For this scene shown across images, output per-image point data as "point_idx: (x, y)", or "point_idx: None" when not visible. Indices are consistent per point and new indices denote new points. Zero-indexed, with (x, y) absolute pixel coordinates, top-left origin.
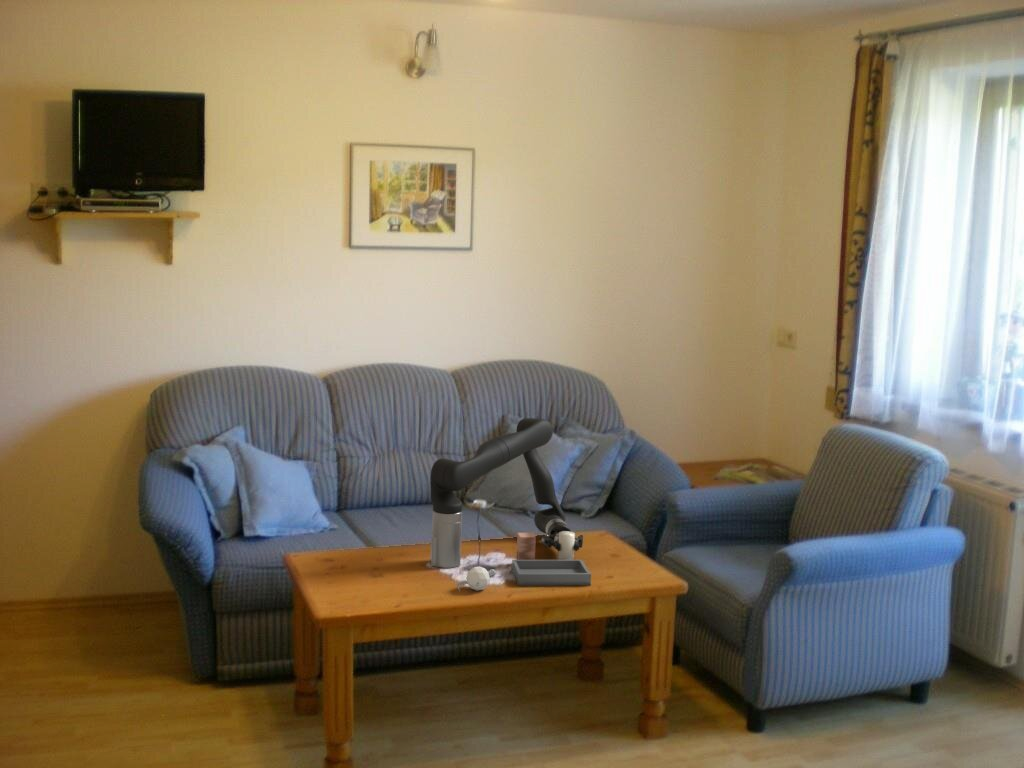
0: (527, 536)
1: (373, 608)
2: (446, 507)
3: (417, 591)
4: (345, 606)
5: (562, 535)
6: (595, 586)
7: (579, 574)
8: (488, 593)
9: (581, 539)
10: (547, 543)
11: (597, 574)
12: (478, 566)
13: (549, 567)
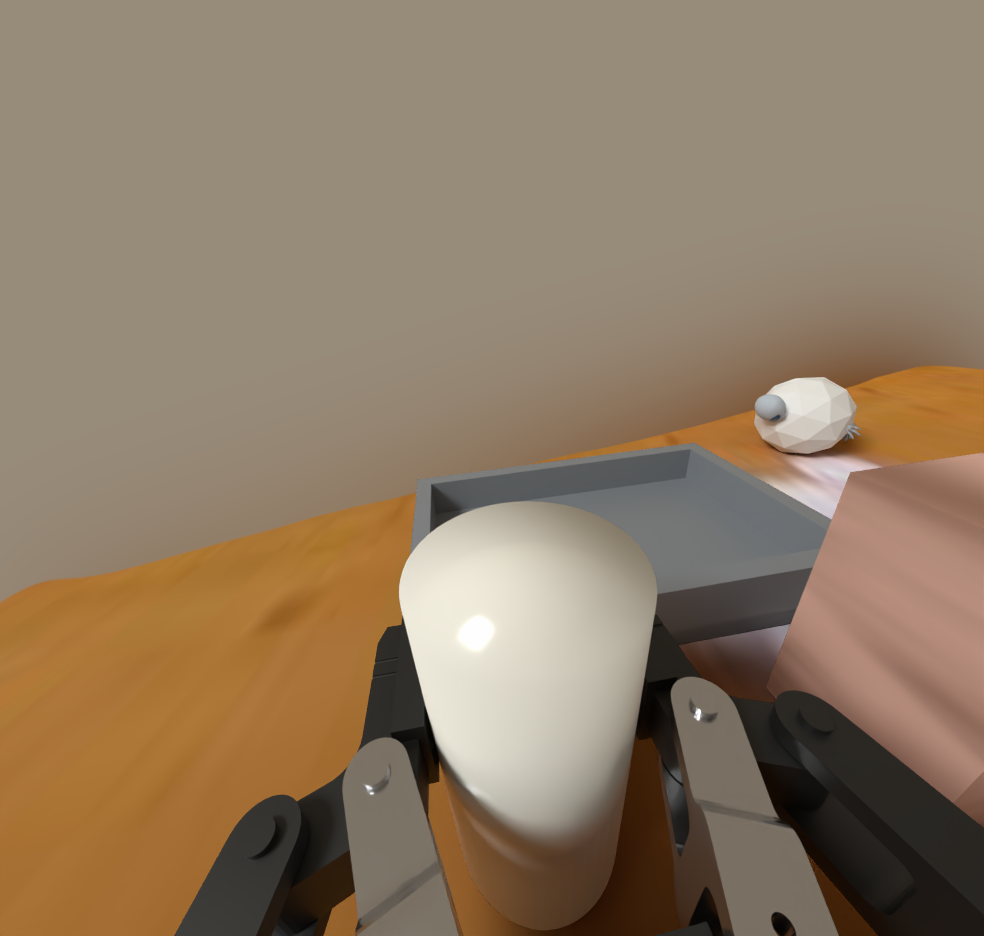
0: (960, 472)
1: (896, 381)
2: None
3: (936, 422)
4: (960, 378)
5: (576, 512)
6: (409, 515)
7: (465, 474)
8: (736, 440)
9: (250, 826)
10: (897, 893)
11: (336, 637)
12: (823, 381)
13: None
